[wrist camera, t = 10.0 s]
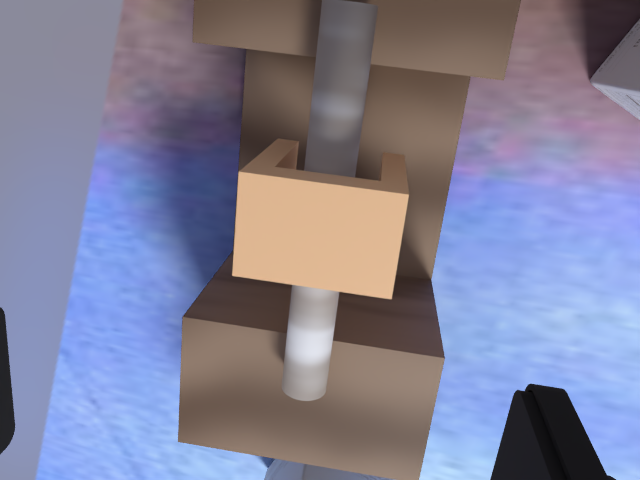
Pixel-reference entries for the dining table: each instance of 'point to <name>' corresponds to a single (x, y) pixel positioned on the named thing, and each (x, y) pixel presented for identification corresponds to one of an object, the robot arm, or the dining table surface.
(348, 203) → the cord clip
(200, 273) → the dining table surface
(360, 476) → the supplement box
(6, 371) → the robot arm
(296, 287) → the rod slider mechanism
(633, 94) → the supplement box
